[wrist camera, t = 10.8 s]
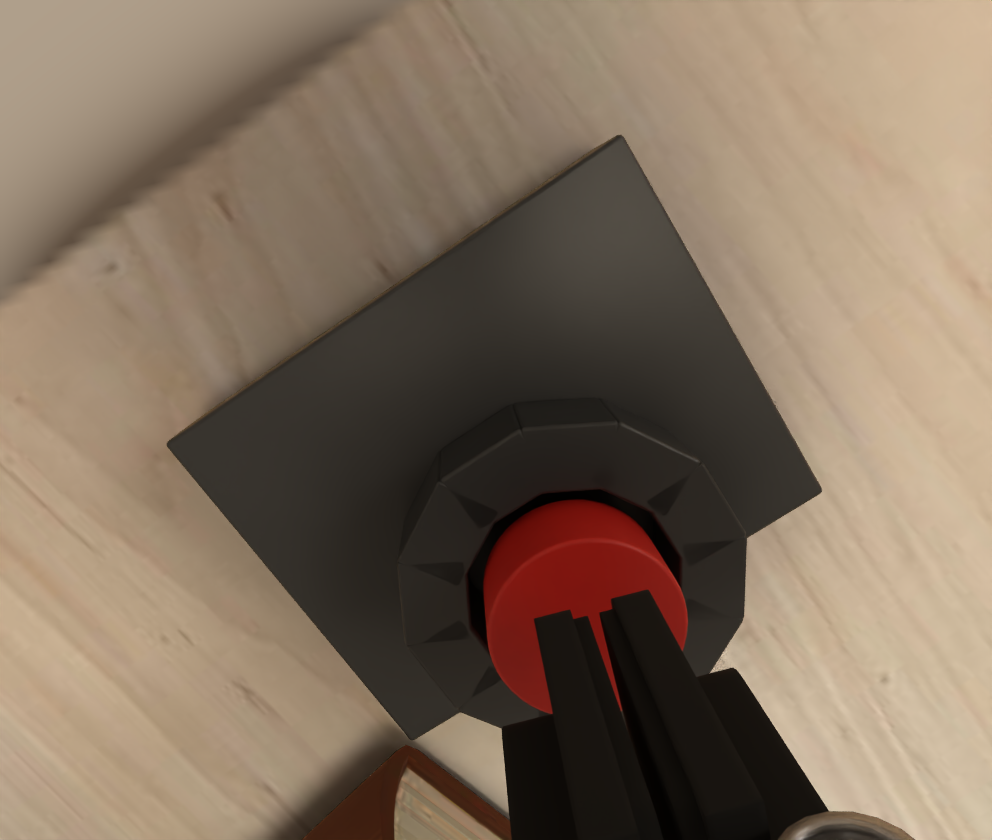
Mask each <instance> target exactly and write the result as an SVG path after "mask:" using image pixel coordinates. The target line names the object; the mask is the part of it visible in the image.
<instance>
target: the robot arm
mask: <svg viewBox="0 0 992 840" xmlns="http://www.w3.org/2000/svg"><path fill="white" fill-rule="evenodd" d="M611 605H612V609H611V610H607V611H603V612H599V615H600V620H601V624H602V629H603V633H604V637H605V641H606V645H607V649H608V653H609V657H610V662H611V666H612V670H613V674H614V678H615V682H616V686H617V690H618V695H619V699H620V703H621V707H622V711H623V715H624V719H625V722H624V719H623V716H622V713H621V710H620V707H619V705H618V702H617V699H616V696H615V693H614V690H613V687H612V684H611V681H610V679H609V676H608V673H607V670H606V667H605V664H604V661H603V658H602V655H601V653H600V650H599V647H598V644H597V641H596V638H595V635H594V632H593V629H592V627H591V624H590V621H589V618H588V616H583V617H579V618H576V619H573V616H572V613H571V610H570V609H569V610H565V611H561V612H557V613H553V614H549V615H545V616H542V617H538V618H534V623H535V628H536V633H537V638H538V643H539V648H540V653H541V658H542V662H543V667H544V672H545V677H546V682H547V687H548V692H549V697H550V702H551V707H552V712H553V714H549V715H545V716H541V717H537V718H534V719H530V720H526V721H522V722H518V723H514V724H510V725H506V726H503V727H502V741H503V751H504V762H505V773H506V784H507V795H508V806H509V816H510V827H511V838H512V840H915V839H913V838H912V837H911V836H910V835H908V834H907V833H906V832H905V831H903V830H902V829H900V828H898V827H896V826H894V825H892V824H890V823H888V822H885V821H883V820H881V819H879V818H877V817H872V816H868V815H864V814H860V813H856V812H836V811H829V810H828V809H827V807H826V806H825V804H824V803H823V801H822V800H821V798H820V797H819V795H818V794H817V792H816V790H815V789H814V787H813V786H812V784H811V783H810V781H809V780H808V778H807V777H806V775H805V773H804V772H803V770H802V769H801V767H800V766H799V764H798V763H797V761H796V760H795V758H794V756H793V755H792V753H791V752H790V750H789V749H788V747H787V746H786V744H785V743H784V741H783V739H782V738H781V736H780V735H779V733H778V732H777V730H776V729H775V727H774V726H773V724H772V722H771V721H770V719H769V718H768V716H767V715H766V713H765V712H764V710H763V709H762V707H761V705H760V704H759V702H758V701H757V699H756V698H755V696H754V695H753V693H752V692H751V690H750V688H749V687H748V685H747V684H746V682H745V681H744V679H743V678H742V676H741V675H740V674H739V672H738V671H737V670H736V669H734V668H729V669H725V670H721V671H718V672H714V673H710V674H706V675H702V676H698V677H696V675H695V674H694V672H693V670H692V668H691V666H690V664H689V663H688V661H687V659H686V657H685V655H684V653H683V652H682V650H681V648H680V646H679V644H678V642H677V640H676V639H675V637H674V635H673V633H672V631H671V629H670V628H669V626H668V624H667V622H666V620H665V618H664V617H663V615H662V613H661V611H660V609H659V607H658V606H657V604H656V602H655V600H654V598H653V596H652V595H651V593H650V591H649V590H648V589H647V590H643V591H639V592H635V593H631V594H627V595H623V596H619V597H615V598H612V599H611ZM625 723H626V725H625Z"/></svg>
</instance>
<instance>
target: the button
mask: <svg viewBox="0 0 992 840" xmlns="http://www.w3.org/2000/svg"><path fill="white" fill-rule="evenodd" d="M647 589H648V590H649V591H650V593H651V595H652V596H653V598H654V600H655V602H656V604H657V606H658V607H659V609H660V611H661V613H662V615H663V617H664V618H665V620H666V622H667V624H668V626H669V628H670V629H671V631H672V633H673V635H674V637H675V639H676V640H677V642H678V644H679V646H680V648H681V650H682V651H683V648H684V644H685V640H686V636H687V626H688V617H687V608H686V603H685V599H684V596H683V593H682V591H681V588H680V586H679V584H678V583H677V581H676V579H675V577H674V576H673V574H672V572H671V571H670V569H669V568H668V566H667V565H666V563H665V561H664V560H663V558H662V557H661V555H660V553H659V552H658V550H657V549H656V547H655V546H654V544H653V542H652V541H651V539H650V538H649V536H648V535H647V533H646V532H645V531H644V529H643V528H642V527H641V526H640V525H639V524H638V523H637V522H636V521H635V520H634V519H632V518H631V517H630V516H628V515H627V514H626V513H624V512H622V511H620V510H619V509H617V508H615V507H612V506H610V505H607V504H605V503H601V502H596V501H591V500H582V499H572V500H562V501H556V502H552V503H549V504H545V505H543V506H540V507H538V508H535V509H533V510H531V511H530V512H528V513H526V514H524V515H523V516H521V517H520V518H519V519H517V520H516V521H515V522H513V523H512V524H511V525H510V526H509V527H508V528H507V529H506V530H505V531H504V532H503V534H502V535H501V536H500V537H499V539H498V540H497V542H496V543H495V545H494V547H493V548H492V550H491V553H490V555H489V557H488V560H487V563H486V567H485V571H484V578H483V593H484V605H485V618H486V630H487V641H488V648H489V653H490V656H491V659H492V662H493V664H494V666H495V669H496V671H497V673H498V674H499V676H500V677H501V679H502V680H503V682H504V683H505V684H506V685H507V686H508V687H509V689H510V690H511V691H512V692H513V693H515V694H516V695H517V696H518V697H519V698H520V699H521V700H523V701H525V702H526V703H528V704H529V705H531V706H532V707H535V708H537V709H539V710H541V711H543V712H546V713H549V714H553V712H552V707H551V702H550V697H549V692H548V687H547V682H546V677H545V672H544V667H543V662H542V658H541V653H540V648H539V643H538V638H537V633H536V628H535V623H534V618H538V617H542V616H545V615H549V614H553V613H557V612H561V611H565V610H569V609H570V610H571V613H572V616H573V619H576V618H579V617H583V616H588V618H589V621H590V624H591V627H592V629H593V632H594V635H595V638H596V641H597V644H598V647H599V650H600V653H601V655H602V658H603V661H604V664H605V667H606V670H607V673H608V676H609V679H610V681H611V684H612V687H613V690H614V693H615V696H616V699H617V702H618V705H619V707H620V710H621V711H622V707H621V703H620V699H619V695H618V690H617V686H616V682H615V678H614V674H613V670H612V666H611V662H610V657H609V653H608V649H607V645H606V641H605V637H604V633H603V629H602V624H601V620H600V615H599V612H603V611H607V610H611V609H612V605H611V599H612V598H615V597H619V596H623V595H627V594H631V593H635V592H639V591H643V590H647Z"/></svg>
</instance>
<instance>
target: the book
mask: <svg viewBox="0 0 992 840" xmlns="http://www.w3.org/2000/svg"><path fill="white" fill-rule="evenodd" d="M302 840H512V838H511V827H510V821H509V820H508V819H507V818H506V817H504V816H503V815H502V814H500V813H499V812H498V811H496V810H495V809H494V808H493V807H491V806H490V805H489V804H487V803H486V802H485V801H483V800H482V799H481V798H480V797H478V796H477V795H476V794H474V793H473V792H472V791H471V790H469V789H468V788H467V787H465V786H464V785H463V784H461V783H460V782H459V781H458V780H456V779H455V778H454V777H452V776H451V775H450V774H449V773H447V772H446V771H445V770H443V769H442V768H441V767H439V766H438V765H437V764H436V763H434V762H433V761H432V760H430V759H429V758H428V757H427V756H425V755H424V754H423V753H421V752H420V751H419V750H417V749H414V748H412V747H410V746H408V745H405V746H404V747H402V748H401V749H399V750H398V751H396V752H395V753H394V754H393V755H392V756H391V757H390V758H389V759H387V760H386V761H385V762H384V763H383V764H382V765H381V766H380V767H379V768H378V769H377V770H376V771H375V772H374V773H372V774H371V775H370V776H369V777H368V778H367V779H366V780H365V781H364V782H363V783H362V784H361V785H360V786H359V787H357V788H356V789H355V790H354V791H353V792H352V793H351V794H350V795H349V796H348V797H347V798H346V799H345V800H344V801H343V802H341V803H340V804H339V805H338V806H337V807H336V808H335V809H334V810H333V811H332V812H331V813H330V814H329V815H328V816H326V817H325V818H324V819H323V820H322V821H321V822H320V823H319V824H318V825H317V826H316V827H315V828H314V829H313V830H311V831H310V832H309V833H308V834H307V835H306V836H305V837H304V838H303V839H302Z"/></svg>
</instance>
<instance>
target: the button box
mask: <svg viewBox="0 0 992 840" xmlns="http://www.w3.org/2000/svg"><path fill="white" fill-rule="evenodd" d="M167 447H168V448H169V449H170V451H171V452H172V453H173V454H174V455H175V457H176V458H177V459H178V460H179V461H180V463H181V464H182V465H183V466H184V468H185V469H186V470H187V471H188V472H189V474H190V475H191V476H192V477H193V478H194V480H195V481H196V482H197V483H198V484H199V486H200V487H201V488H202V489H203V490H204V492H205V493H206V494H207V495H208V496H209V498H210V499H211V500H212V501H213V502H214V504H215V505H216V506H217V507H218V508H219V510H220V511H221V512H222V513H223V515H224V516H225V517H226V518H227V519H228V521H229V522H230V523H231V524H232V525H233V527H234V528H235V529H236V530H237V531H238V533H239V534H240V535H241V536H242V537H243V539H244V540H245V541H246V542H247V543H248V545H249V546H250V547H251V548H252V549H253V551H254V552H255V553H256V554H257V555H258V557H259V558H260V559H261V560H262V561H263V563H264V564H265V565H266V566H267V568H268V569H269V570H270V571H271V572H272V574H273V575H274V576H275V577H276V578H277V580H278V581H279V582H280V583H281V584H282V586H283V587H284V588H285V589H286V590H287V592H288V593H289V594H290V595H291V596H292V598H293V599H294V600H295V601H296V602H297V604H298V605H299V606H300V607H301V608H302V610H303V611H304V612H305V613H306V615H307V616H308V617H309V618H310V619H311V621H312V622H313V623H314V624H315V625H316V627H317V628H318V629H319V630H320V631H321V633H322V634H323V635H324V636H325V637H326V639H327V640H328V641H329V642H330V643H331V645H332V646H333V647H334V648H335V649H336V651H337V652H338V653H339V654H340V655H341V657H342V658H343V659H344V660H345V662H346V663H347V664H348V665H349V666H350V668H351V669H352V670H353V671H354V672H355V674H356V675H357V676H358V677H359V678H360V680H361V681H362V682H363V683H364V684H365V686H366V687H367V688H368V689H369V690H370V692H371V693H372V694H373V695H374V696H375V698H376V699H377V700H378V701H379V702H380V704H381V705H382V706H383V707H384V708H385V710H386V711H387V712H388V713H389V715H390V716H391V717H392V718H393V719H394V721H395V722H396V723H397V724H398V725H399V727H400V728H401V729H402V730H403V731H404V733H405V734H406V735H407V736H408V737H409V739H410V740H415V739H417V738H418V737H420V736H421V735H423V734H425V733H426V732H428V731H430V730H431V729H433V728H435V727H436V726H438V725H440V724H441V723H443V722H445V721H446V720H448V719H450V718H451V717H453V716H454V715H456V714H458V713H459V712H462V713H464V714H467V715H469V716H472V717H474V718H477V719H479V720H482V721H484V722H487V723H489V724H492V725H494V726H497V727H499V728H502V727H503V726H506V725H510V724H514V723H518V722H522V721H526V720H530V719H534V718H537V717H541V716H545V715H549V713H546V712H543V711H541V710H539V709H537V708H535V707H532V706H531V705H529V704H528V703H526V702H525V701H523V700H521V699H520V698H519V697H518V696H517V695H516V694H515V693H513V692H512V691H511V690H510V689H509V687H508V686H507V685H506V684H505V683H504V682H503V680H502V679H501V677H500V676H499V674H498V673H497V671H496V669H495V666H494V664H493V662H492V659H491V656H490V653H489V648H488V641H487V630H486V618H485V605H484V593H483V578H484V571H485V567H486V563H487V560H488V557H489V555H490V553H491V550H492V548H493V547H494V545H495V543H496V542H497V540H498V539H499V537H500V536H501V535H502V534H503V532H504V531H505V530H506V529H507V528H508V527H509V526H510V525H511V524H512V523H513V522H515V521H516V520H517V519H519V518H520V517H521V516H523V515H524V514H526V513H528V512H530V511H531V510H533V509H535V508H538V507H540V506H543V505H545V504H549V503H552V502H556V501H562V500H572V499H582V500H591V501H596V502H601V503H605V504H607V505H610V506H612V507H615V508H617V509H619V510H620V511H622V512H624V513H626V514H627V515H628V516H630V517H631V518H632V519H634V520H635V521H636V522H637V523H638V524H639V525H640V526H641V527H642V528H643V529H644V531H645V532H646V533H647V535H648V536H649V538H650V539H651V541H652V542H653V544H654V546H655V547H656V549H657V550H658V552H659V553H660V555H661V557H662V558H663V560H664V561H665V563H666V565H667V566H668V568H669V569H670V571H671V572H672V574H673V576H674V577H675V579H676V581H677V583H678V584H679V586H680V588H681V591H682V593H683V596H684V599H685V603H686V608H687V617H688V626H687V636H686V640H685V644H684V648H683V651H682V652H683V653H684V655H685V657H686V659H687V661H688V663H689V664H690V666H691V668H692V670H693V672H694V674H695V675H696V677H698V676H702V675H706V674H709V673H710V672H711V670H712V669H713V667H714V666H715V664H716V662H717V661H718V659H719V658H720V656H721V655H722V653H723V651H724V650H725V648H726V647H727V645H728V644H729V642H730V640H731V639H732V637H733V636H734V634H735V633H736V631H737V629H738V628H739V626H740V625H741V623H742V621H743V618H744V603H745V574H746V546H747V538H748V537H749V536H751V535H753V534H754V533H756V532H758V531H759V530H761V529H763V528H764V527H766V526H768V525H769V524H771V523H772V522H774V521H776V520H777V519H779V518H781V517H782V516H784V515H786V514H787V513H789V512H791V511H792V510H794V509H796V508H797V507H799V506H800V505H802V504H804V503H805V502H807V501H809V500H810V499H812V498H814V497H815V496H817V495H819V494H820V493H821V492H822V489H821V486H820V484H819V483H818V481H817V479H816V477H815V476H814V474H813V472H812V470H811V468H810V467H809V465H808V463H807V461H806V460H805V458H804V456H803V454H802V452H801V451H800V449H799V447H798V445H797V444H796V442H795V440H794V438H793V437H792V435H791V433H790V431H789V429H788V428H787V426H786V424H785V422H784V421H783V419H782V417H781V415H780V413H779V412H778V410H777V408H776V406H775V405H774V403H773V401H772V399H771V397H770V396H769V394H768V392H767V390H766V389H765V387H764V385H763V383H762V381H761V380H760V378H759V376H758V374H757V373H756V371H755V369H754V367H753V366H752V364H751V362H750V360H749V358H748V357H747V355H746V353H745V351H744V350H743V348H742V346H741V344H740V342H739V341H738V339H737V337H736V335H735V334H734V332H733V330H732V328H731V326H730V325H729V323H728V321H727V319H726V318H725V316H724V314H723V312H722V311H721V309H720V307H719V305H718V303H717V302H716V300H715V298H714V296H713V295H712V293H711V291H710V289H709V287H708V286H707V284H706V282H705V280H704V279H703V277H702V275H701V273H700V271H699V270H698V268H697V266H696V264H695V263H694V261H693V259H692V257H691V256H690V254H689V252H688V250H687V248H686V247H685V245H684V243H683V241H682V240H681V238H680V236H679V234H678V232H677V231H676V229H675V227H674V225H673V224H672V222H671V220H670V218H669V216H668V215H667V213H666V211H665V209H664V208H663V206H662V204H661V202H660V201H659V199H658V197H657V195H656V193H655V192H654V190H653V188H652V186H651V185H650V183H649V181H648V179H647V177H646V176H645V174H644V172H643V170H642V169H641V167H640V165H639V163H638V161H637V160H636V158H635V156H634V154H633V153H632V151H631V149H630V147H629V146H628V144H627V142H626V140H625V138H624V137H623V136H622V135H617V136H615V137H613V138H612V139H610V140H608V141H606V142H605V143H603V144H601V145H600V146H598V147H596V148H594V149H593V150H591V151H590V152H589V153H587V154H586V155H584V156H583V157H581V158H580V159H578V160H577V161H575V162H574V163H572V164H571V165H569V166H568V167H567V168H565V169H564V170H562V171H561V172H559V173H558V174H556V175H555V176H553V177H552V178H550V179H549V180H547V181H546V182H544V183H543V184H542V185H540V186H539V187H537V188H536V189H534V190H533V191H531V192H530V193H528V194H527V195H525V196H524V197H522V198H521V199H520V200H518V201H517V202H515V203H514V204H512V205H511V206H509V207H508V208H506V209H505V210H503V211H502V212H500V213H499V214H498V215H496V216H495V217H493V218H492V219H490V220H489V221H487V222H486V223H484V224H483V225H481V226H480V227H478V228H477V229H475V230H474V231H473V232H471V233H470V234H468V235H467V236H465V237H464V238H462V239H461V240H459V241H458V242H456V243H455V244H453V245H452V246H451V247H449V248H448V249H446V250H445V251H443V252H442V253H440V254H439V255H437V256H436V257H434V258H433V259H431V260H430V261H429V262H427V263H426V264H424V265H423V266H421V267H420V268H418V269H417V270H415V271H414V272H412V273H411V274H409V275H408V276H406V277H405V278H404V279H402V280H401V281H399V282H398V283H396V284H395V285H393V286H392V287H390V288H389V289H387V290H386V291H384V292H383V293H382V294H380V295H379V296H377V297H376V298H374V299H373V300H371V301H370V302H368V303H367V304H365V305H364V306H362V307H361V308H360V309H358V310H357V311H355V312H354V313H352V314H351V315H349V316H348V317H346V318H345V319H343V320H342V321H340V322H339V323H337V324H336V325H335V326H333V327H332V328H330V329H329V330H327V331H326V332H324V333H323V334H321V335H320V336H318V337H317V338H315V339H314V340H313V341H311V342H310V343H308V344H307V345H305V346H304V347H302V348H301V349H299V350H298V351H296V352H295V353H293V354H292V355H291V356H289V357H288V358H286V359H285V360H283V361H282V362H280V363H279V364H277V365H276V366H274V367H273V368H271V369H270V370H268V371H267V372H266V373H264V374H263V375H261V376H260V377H258V378H257V379H255V380H254V381H252V382H251V383H249V384H248V385H246V386H245V387H244V388H242V389H241V390H239V391H238V392H236V393H235V394H233V395H232V396H230V397H229V398H227V399H226V400H224V401H223V402H222V403H220V404H219V405H217V406H216V407H214V408H213V409H211V410H210V411H208V412H207V413H205V414H204V415H203V416H201V417H200V418H199V419H197V420H196V421H194V422H193V423H192V424H190V425H189V426H188V427H186V428H185V429H184V430H182V431H181V432H180V433H178V434H177V435H176V436H174V437H173V438H172V439H170V440H169V441H168V442H167ZM621 713H622V716H623V719H624V715H623V711H621ZM624 722H625V719H624ZM625 725H626V723H625Z"/></svg>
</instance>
